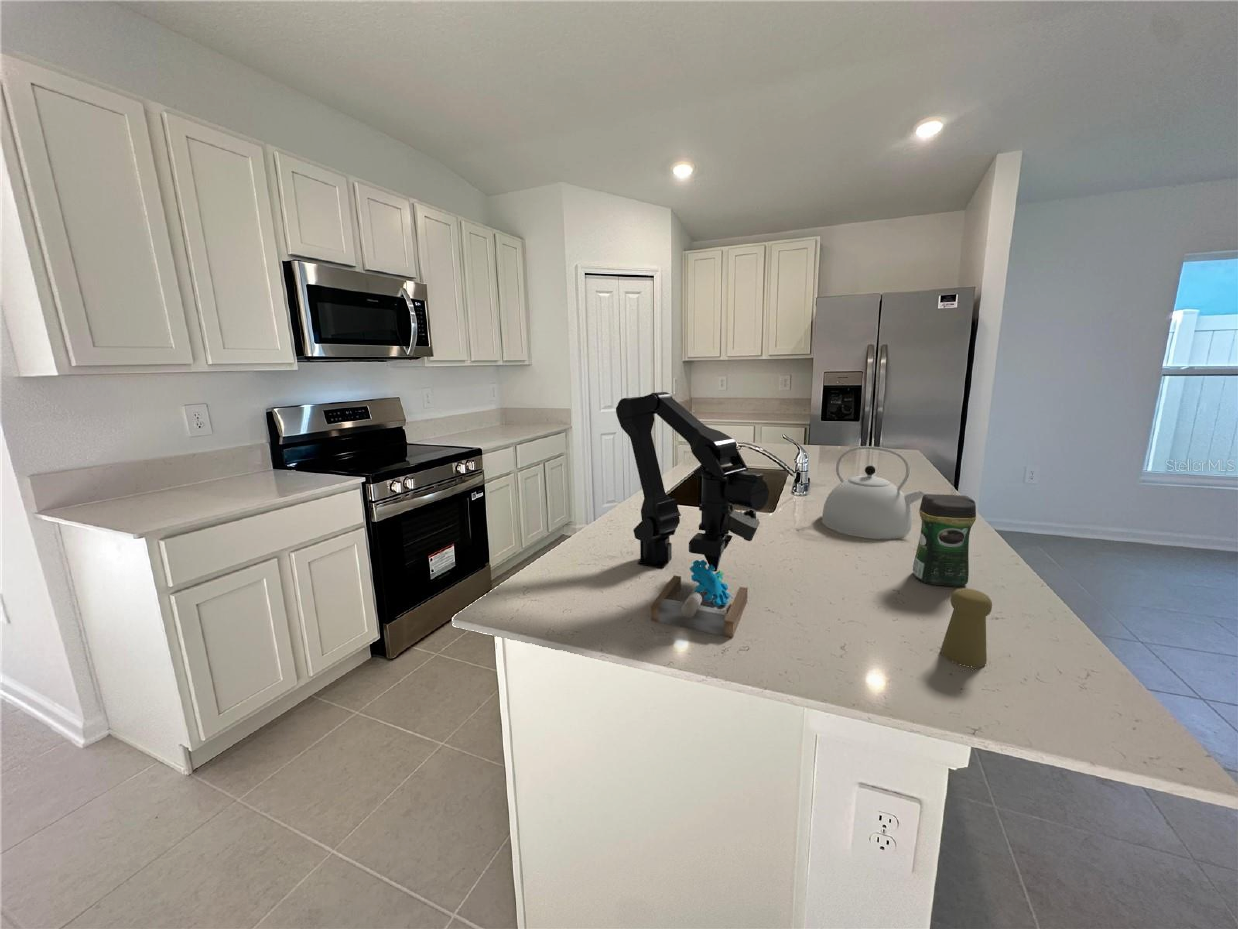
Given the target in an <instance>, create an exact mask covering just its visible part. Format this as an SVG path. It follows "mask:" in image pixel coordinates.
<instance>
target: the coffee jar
mask: <svg viewBox="0 0 1238 929" xmlns="http://www.w3.org/2000/svg"><path fill="white" fill-rule="evenodd" d="M976 509H977V507H976V502H975V500H974V499H973V498H971V497H969V496H967V495H960V494H958V495H957V494H939V493H937V494H935V493H934V494H930V493H924V495H923V497H922V498H921V502H920V506H919V510H918V512H919V517H920V519H921V525H920V526H921V528H920V534H919V539H918V543H917V549H916V552H915V556H914V561H913V565H912V572H913V575H914V576H915V578H917V579H918V580H920V581H922V582H924V583H926V584H929V585H936V586H949V587H964V586H965V585H967V584H968V583H969V574H970V571H969V569H970V566H969V565H970V564H969V560H970V559H969V555H970V554H969V552H970V551H969V548H970V545H969V544H970V535H971V531H972V530H971V529H972V527H973V526H974V523H975V522H976V519H977V510H976Z"/></svg>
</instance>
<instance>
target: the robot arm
mask: <svg viewBox="0 0 1238 929" xmlns="http://www.w3.org/2000/svg"><path fill="white" fill-rule="evenodd" d="M615 414H616V418H617V420H618V423H619V424H620V425H619V426H620V428H621V429H622V430H623V431H624V432H625V433H626V434H627V436H628V437H629V439H630V441H631V442H630V443H631V447H632V451H633V455H634V459H635V463H636V469H637V472H638V476H639V480H640V485H641V489H642V490H641V491H642V494H643V500H642V505H641V509H640V517H641V521H640V522H639V523H638V524H637V525H636V526H635V527H634V528H633V530H632V531H633V534H634V539H636V540H638V541H640V542H639V546H640V547H639V550H640V551H639V552H640V554H639V557H640V558H639V560H638V561H637V564H638V565H642V566H648V567H652V568H653V567H654V568H659V569H660V568H661V569H664V568H665V567H666V566H667V564H668V563H669V562H670V561H671V560H672V559H673V558H672V557H673V556H672V549H673V548H672V545H673V544H672V542H670V536H675V533H676V530H677V528H678V526H679V525H680V516H682V515H681V512H680V510H679V505H678V501H677V499H676V498H670V497H669V495H668V494H667V493H666V491H665V486H664V482H663V476H662V474H661V467H660V464H659V461H658V457H657V452H656V448H655V445H654V444H655V443H654V439H653V435H652V430H653V427H654V424H655V421H656V419H655V414H656V415H657V416H658V417H659V418H660V419H661V420H663V421H664V422H665V423H666V425H668V426H669V427H670V428H672V430H674V431H675V432H676V433H677V434H678V435H679V436H681V437H682V438H683V439H684V440H685V441H686V442H687V443H688V444H689V446H690V450H691V453H692V456H693V457H695V459H696V460H697V462H698V463H700V465H699V466H698V467H697V468H696V469H695V470H694V471H693V475H695V476H699V477H701V503H700V504H699V506H698V511H699V512H701V521H700V523H699V524H698V531H702V532H697V533H696V534H695V535H693V536H692V537H691V539H690V540H689V541H688V552H689V554H696V555H703V556H704V558H705V561H706V562H707V565H708V566H710V565H711V564H712V565H713V566H714V568H715V570H714V571H713V573H714V572H716V573H717V572H718V571H719V570H718V569H719V566H720V562H721V558H722V555H723V553H724V551H725V550H726V548H727V547H728V545H730V542H731V541H732V539H733V535H731V534H730V532H731V533H732V534H734V535H736V536H739V537H741V538H743V540H744V541H746V542H752V541H753V538H754V536H755V534H756V532H757V530H758V528H759V526H760V523H761V522H760V519H759V518H757V512H758V511H761V510H763V508H764V507H765V506H766V504H767V503H768V499H769V495H770V489H769V488H768V484H767V482H766V481H765V480H764V475H763V473H759V472H754V473H753V472H749V468H748V467H747V466H748V465H747V464H746V463H745V461H744V458H743V457H742V455H741V453H740V451H739V449H738V444H737V442H736V440H735V439H734V438H733V437H731V436H729V435H728V434H726V433H724V432H722V431H720V430H717V429H715V428H711V427H710V426H707V425H705V424H704V423H703V422H701V420H700V419H698V418H697V417H696V416H695V415H693V414H692V413H691V412H690V411H688V409H686V408H685V407H684V406H682V405H681V404H680V403H679V402H678V401H677V400H676V399H674V398H673V396H672V394H671V393H669V392H667V391H657V392H651V393H650V394H647V395H645V396H644V395H643V396H635V397H634V396H633V397H625V398H621V399H620V400H619V401H618V403H617V405H616V407H615ZM730 464H731V465H730ZM726 465H727V466H726ZM723 466H724V467H723ZM735 506H737V507H742V508H746V510H745V511H742V510H740V511H737V510H735ZM703 531H704V532H703Z"/></svg>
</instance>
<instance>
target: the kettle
mask: <svg viewBox="0 0 1238 929" xmlns="http://www.w3.org/2000/svg"><path fill="white" fill-rule="evenodd" d="M857 450H858V451H859V450H875V451H881V452H882V451H883V452H887V453H890V454H892V455H895V456H897V457H898V458H900V460H902V463H904V466H905V475H904V478H903V480H902V481H901V483H900V484H899V485H898V486H896V485H894V484H893V483H892V482H891V481H889V480H887V479H885V478H882V477H879V476H875V475H874V474H875V473H876V467H874V466H873V465H867V466H865V468H864V472H865V474H866V475H856V476H852V477H850V478H847V479H845V480H844V478H843V477H842V475H841V472H840V465H841V461H842V459H843V458H844V457H845V456H846V455H847V454H849V453H852V452H854V451H857ZM835 472H836V476H837V477H838V479H839V481H840V483H838V485H836V486H835V487H834V488H833V489H832V490H831V491H830V492H829V493H828V495H827V497H826V500H825V502H824V505H823V509H822V517H821V523H823V525H824V526H826V527H827V528H828V529H830V530H834V531H835V532H839V533H842V534H843V535H844V534H845V535H849V536H854V537H859V538H867V539H874V540H875V539H876V540H877V539H878V540H890V539H891V540H892V539H901V538H904V537H906V536H909V535H911V533H912V530H913V529H912V527H913V513H912V512H913V511H912V507H911V504H913V503H915V502H917V501H918V500H920V499H921V500H922V498H923V495H924V494H925V493H924V492H923V491H921V490H919V489H917V490H914V491H909V492H906V493H904V492H902V491H901V489H903V487H904V485H905V484H906V482H907V481H908V479H909V477H910V466H909V462H908V461H907V459H906V458H905V456H903V455H902V454H901V453H899V452H897V451H895V450H893V449H889V448H887V447H879V446H872V445H870V446H869V445H863V446H862V445H861V446H855V447H852V448H849V449H847V450H846V451H844V452H843V453H842V454H841V455H840V456H839V458H838V460H837V461H836V466H835Z"/></svg>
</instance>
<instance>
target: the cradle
mask: <svg viewBox="0 0 1238 929" xmlns="http://www.w3.org/2000/svg"><path fill="white" fill-rule="evenodd" d="M748 588H749V587H745V586H743V587H742V586H739V588H738V589H737V591H736V595H735V596H734V599H733V601H732V603H731V605H730V607H729V610H728V612H727V610H725V609H718V608H714V607H709V606H704V605H701V604H702V603H703V597H702V595H701V593H697V592H693V591H692V592H691V593H690V594H689V595H688V597H687V599H686V600H685V602H684V601H678V600H675V599H676V598H677V596H678V595H679V593H680V592H681V590H682V576H680V575H676V574H675V575H674V574H673V576H672V577H671V578H670V579H669V581H668V582H667V584H666V585H665V586H664V588H663V589H661V591H660V593H659V594H658V595H657V596H656V597H655V599H654V600H653V602H652V603H651V604H650V621H654V622H658V623H663V624H667V625H672V626H678V627H681V628H686V629H691V630H695V631H701V632H705V633H709V634H714V635H718V636H722V637H723V636H724V637H728V638H734V637H735V633H736V632H737V628H738V626H739V624H740V621H741V618H742V616H743V614H744V610H745V607H746V606H747V603H748V590H749V589H748ZM679 591H680V592H679ZM678 592H679V593H678ZM677 594H678V595H677ZM675 597H676V598H675Z"/></svg>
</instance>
